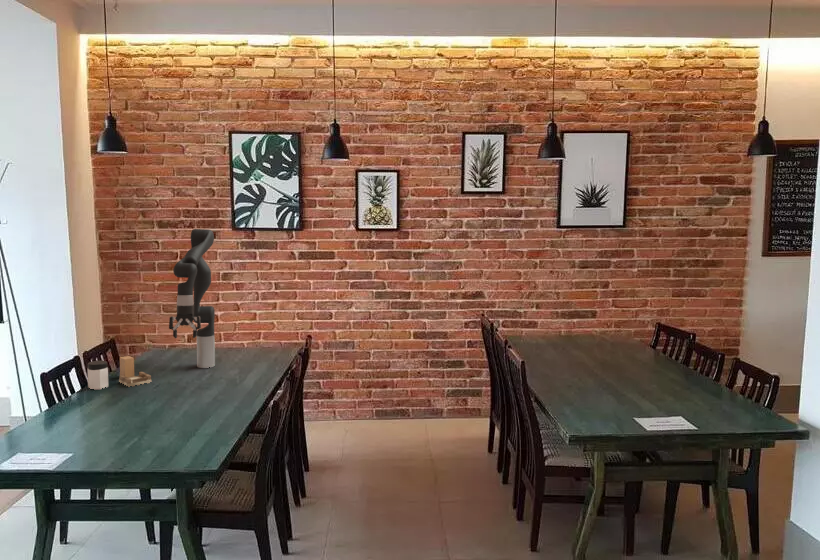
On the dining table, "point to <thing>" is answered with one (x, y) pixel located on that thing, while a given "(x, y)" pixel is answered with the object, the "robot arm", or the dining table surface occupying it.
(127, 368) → the case
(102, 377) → the jar
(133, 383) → the display stand
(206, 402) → the dining table surface
